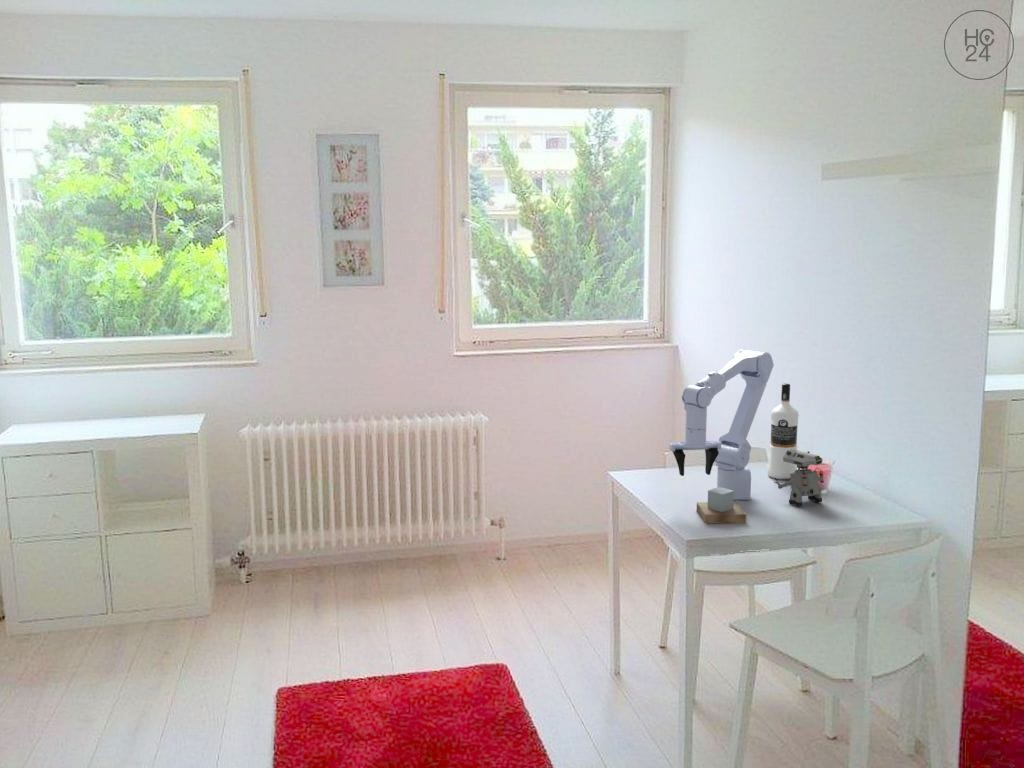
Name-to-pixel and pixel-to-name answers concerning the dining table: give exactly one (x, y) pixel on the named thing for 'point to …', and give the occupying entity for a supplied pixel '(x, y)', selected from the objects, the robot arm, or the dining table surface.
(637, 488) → the dining table surface
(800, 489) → the figurine
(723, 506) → the block
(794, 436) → the vodka
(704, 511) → the plinth
